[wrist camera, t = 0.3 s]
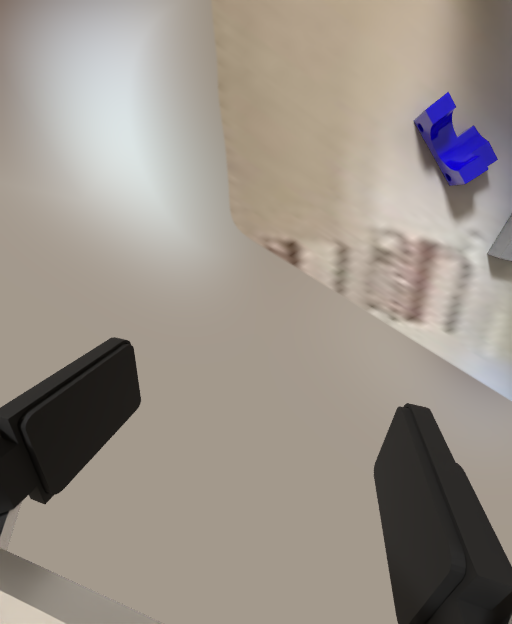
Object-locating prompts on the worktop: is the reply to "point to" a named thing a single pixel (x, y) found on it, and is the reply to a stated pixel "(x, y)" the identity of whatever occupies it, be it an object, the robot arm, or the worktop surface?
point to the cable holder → (454, 144)
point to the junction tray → (503, 243)
